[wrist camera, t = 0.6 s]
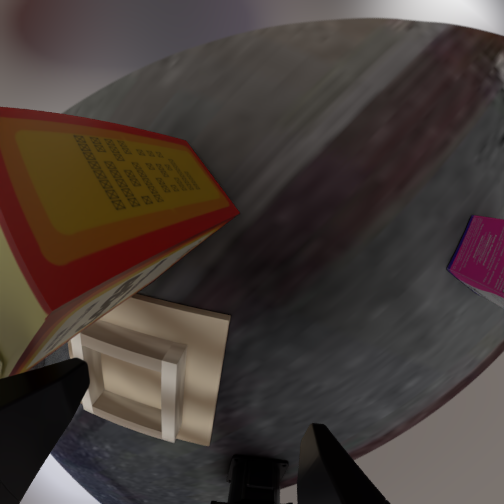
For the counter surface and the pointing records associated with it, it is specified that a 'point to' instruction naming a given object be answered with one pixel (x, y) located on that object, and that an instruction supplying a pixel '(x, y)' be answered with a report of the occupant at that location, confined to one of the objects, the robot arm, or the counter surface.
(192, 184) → the baking soda box
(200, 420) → the square peg hole base
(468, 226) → the supplement box
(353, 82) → the counter surface
